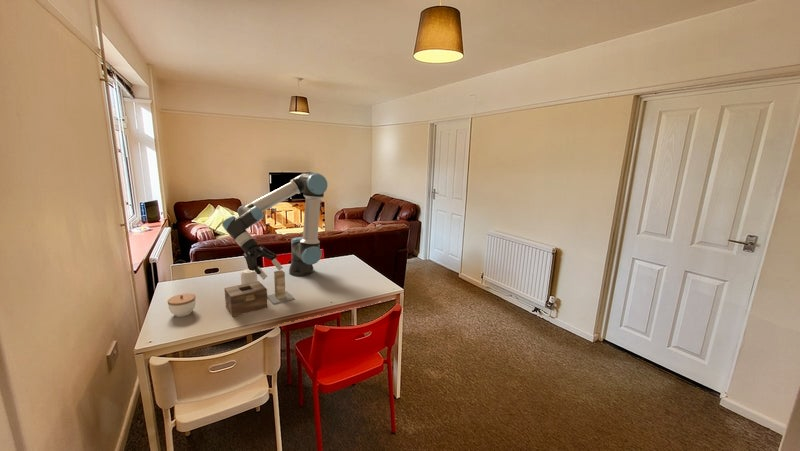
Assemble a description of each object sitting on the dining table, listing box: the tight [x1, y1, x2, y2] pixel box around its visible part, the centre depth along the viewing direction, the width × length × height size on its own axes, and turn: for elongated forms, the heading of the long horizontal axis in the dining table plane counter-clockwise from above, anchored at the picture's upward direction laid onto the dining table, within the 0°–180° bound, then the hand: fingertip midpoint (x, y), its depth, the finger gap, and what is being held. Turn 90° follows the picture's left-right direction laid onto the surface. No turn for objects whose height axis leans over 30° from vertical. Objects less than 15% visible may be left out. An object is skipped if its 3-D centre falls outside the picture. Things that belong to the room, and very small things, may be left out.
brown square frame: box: [223, 280, 268, 317], centre depth 157 cm, size 13×16×10 cm
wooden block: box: [273, 269, 286, 299], centre depth 169 cm, size 4×4×14 cm
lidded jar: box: [167, 293, 197, 318], centre depth 149 cm, size 11×11×9 cm
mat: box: [267, 290, 295, 305], centre depth 170 cm, size 11×11×1 cm
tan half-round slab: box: [240, 268, 259, 285], centre depth 176 cm, size 8×8×12 cm
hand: (273, 273), depth 168 cm, fingers open, 13 cm apart
